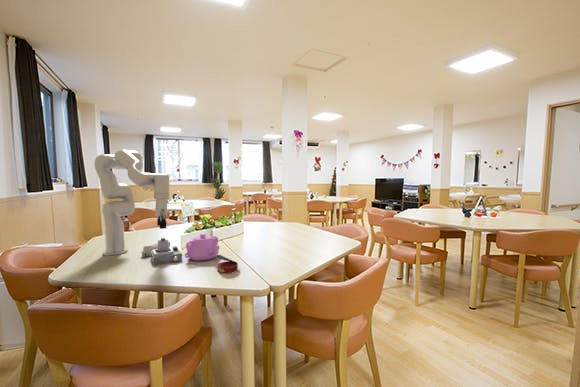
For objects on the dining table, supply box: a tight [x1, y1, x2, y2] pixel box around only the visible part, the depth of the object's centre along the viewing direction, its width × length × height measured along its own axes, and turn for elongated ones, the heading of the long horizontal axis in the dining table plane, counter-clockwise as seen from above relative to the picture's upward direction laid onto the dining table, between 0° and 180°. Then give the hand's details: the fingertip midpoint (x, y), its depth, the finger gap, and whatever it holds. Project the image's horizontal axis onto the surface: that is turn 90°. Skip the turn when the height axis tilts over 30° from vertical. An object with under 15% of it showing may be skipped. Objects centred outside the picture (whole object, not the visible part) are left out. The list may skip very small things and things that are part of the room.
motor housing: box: [150, 245, 183, 266], centre depth 143 cm, size 16×14×6 cm
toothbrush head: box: [141, 240, 171, 258], centre depth 160 cm, size 5×7×25 cm
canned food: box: [216, 254, 239, 274], centre depth 127 cm, size 11×10×10 cm
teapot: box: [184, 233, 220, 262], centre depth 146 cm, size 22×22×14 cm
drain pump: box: [157, 237, 169, 253], centre depth 142 cm, size 5×5×8 cm
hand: (161, 226), depth 142 cm, fingers open, 9 cm apart
